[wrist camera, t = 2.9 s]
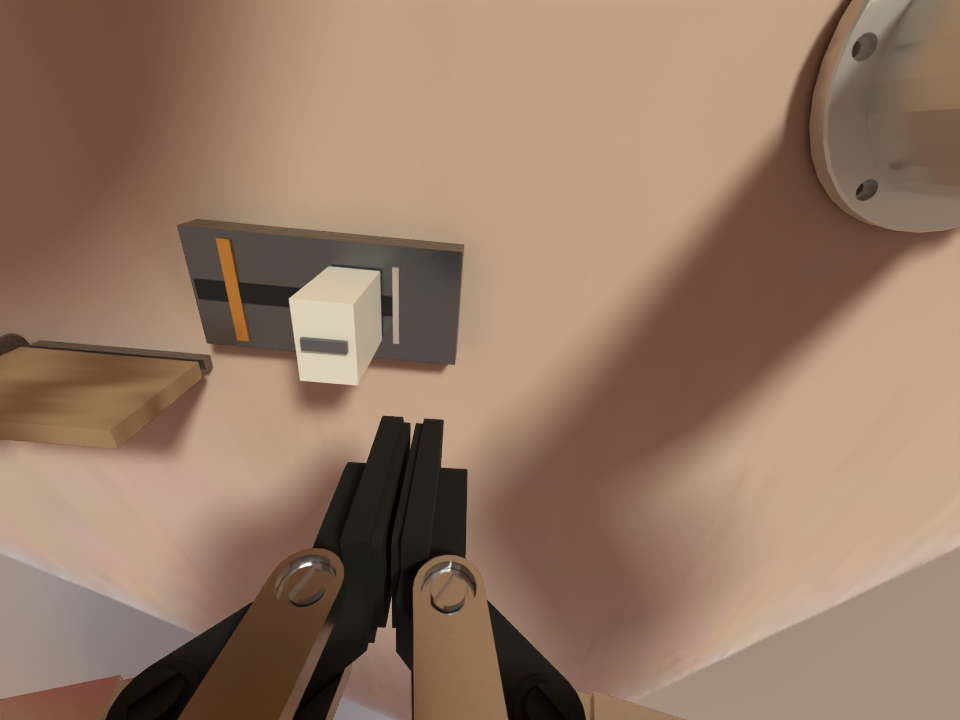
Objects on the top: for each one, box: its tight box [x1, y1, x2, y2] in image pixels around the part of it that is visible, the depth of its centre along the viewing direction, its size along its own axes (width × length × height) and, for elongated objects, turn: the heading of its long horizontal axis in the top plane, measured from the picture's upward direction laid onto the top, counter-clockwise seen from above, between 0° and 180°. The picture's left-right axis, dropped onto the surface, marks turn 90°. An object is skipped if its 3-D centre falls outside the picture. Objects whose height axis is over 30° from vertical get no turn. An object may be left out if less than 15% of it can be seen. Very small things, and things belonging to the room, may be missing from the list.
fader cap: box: [289, 266, 382, 385], centre depth 18 cm, size 2×4×5 cm, turn 175°
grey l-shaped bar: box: [0, 334, 213, 372], centre depth 20 cm, size 12×1×8 cm, turn 85°
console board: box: [177, 219, 464, 365], centre depth 21 cm, size 13×6×2 cm, turn 85°
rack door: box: [0, 347, 203, 449], centre depth 20 cm, size 10×1×6 cm, turn 85°
